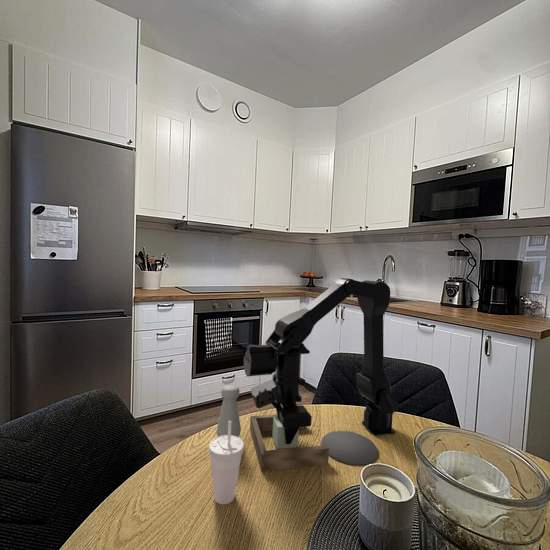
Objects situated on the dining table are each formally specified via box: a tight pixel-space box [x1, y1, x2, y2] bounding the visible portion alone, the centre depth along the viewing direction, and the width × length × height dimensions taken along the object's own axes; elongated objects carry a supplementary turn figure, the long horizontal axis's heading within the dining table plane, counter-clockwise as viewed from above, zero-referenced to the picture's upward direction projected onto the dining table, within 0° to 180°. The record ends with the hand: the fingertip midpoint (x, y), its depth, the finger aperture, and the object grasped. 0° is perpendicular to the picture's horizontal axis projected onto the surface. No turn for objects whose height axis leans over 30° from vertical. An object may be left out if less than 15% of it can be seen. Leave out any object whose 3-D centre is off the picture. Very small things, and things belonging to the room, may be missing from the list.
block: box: [271, 416, 300, 450], centre depth 73 cm, size 5×5×5 cm
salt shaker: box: [215, 384, 242, 438], centre depth 74 cm, size 6×6×13 cm
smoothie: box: [207, 421, 245, 505], centre depth 56 cm, size 6×6×14 cm
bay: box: [249, 413, 330, 472], centre depth 73 cm, size 15×16×4 cm
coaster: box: [320, 430, 379, 466], centre depth 73 cm, size 13×13×1 cm
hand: (285, 437), depth 73 cm, fingers closed on block, 5 cm apart
